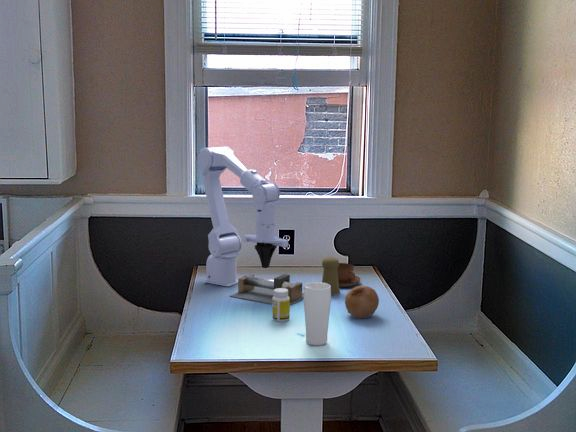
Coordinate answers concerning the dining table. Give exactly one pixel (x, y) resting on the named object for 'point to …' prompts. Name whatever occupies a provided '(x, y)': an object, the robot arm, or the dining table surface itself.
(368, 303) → the onion
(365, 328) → the dining table surface
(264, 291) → the mat
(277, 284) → the dark grey upright slab
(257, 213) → the robot arm
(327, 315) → the drinking glass
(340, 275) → the cup and saucer
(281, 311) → the supplement bottle
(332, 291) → the cork
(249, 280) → the rod holder
